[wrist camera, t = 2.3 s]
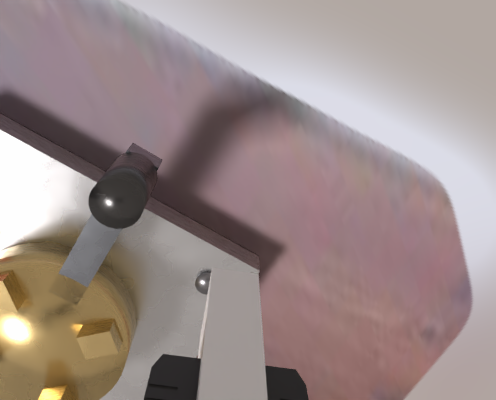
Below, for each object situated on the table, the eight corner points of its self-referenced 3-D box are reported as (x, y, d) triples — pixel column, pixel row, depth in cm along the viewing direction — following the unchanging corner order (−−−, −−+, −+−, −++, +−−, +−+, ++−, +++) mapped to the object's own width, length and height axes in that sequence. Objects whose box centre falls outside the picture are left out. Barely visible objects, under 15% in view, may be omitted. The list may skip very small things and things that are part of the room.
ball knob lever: (92, 401, 34) (59, 494, 27) (-56, 337, 31) (-132, 422, 25) (235, 188, 28) (235, 242, 21) (65, 88, 25) (6, 115, 19)
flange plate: (-120, 334, 34) (-143, 355, 32) (-21, 101, 28) (-43, 109, 26) (127, 436, 38) (120, 461, 36) (258, 256, 32) (260, 273, 30)
